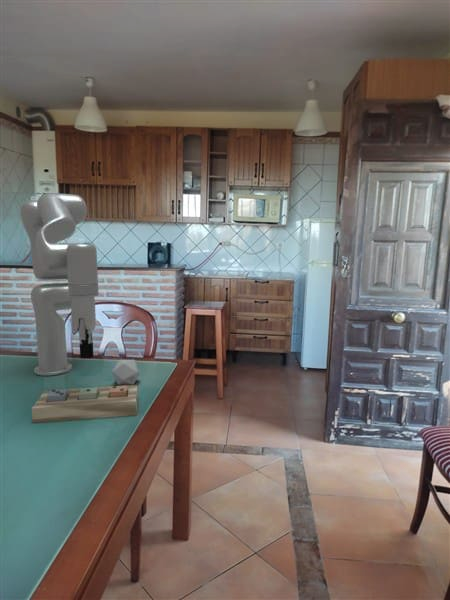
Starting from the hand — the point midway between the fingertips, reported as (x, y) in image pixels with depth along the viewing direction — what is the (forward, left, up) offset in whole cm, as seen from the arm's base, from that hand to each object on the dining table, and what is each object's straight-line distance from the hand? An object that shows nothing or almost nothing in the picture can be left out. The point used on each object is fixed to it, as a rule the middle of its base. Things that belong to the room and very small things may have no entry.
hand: (87, 357), depth 104 cm
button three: (0, -8, -13) cm, 15 cm away
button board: (0, 0, -15) cm, 15 cm away
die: (-19, +9, -15) cm, 26 cm away
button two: (0, +8, -13) cm, 15 cm away
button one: (0, 0, -13) cm, 13 cm away
